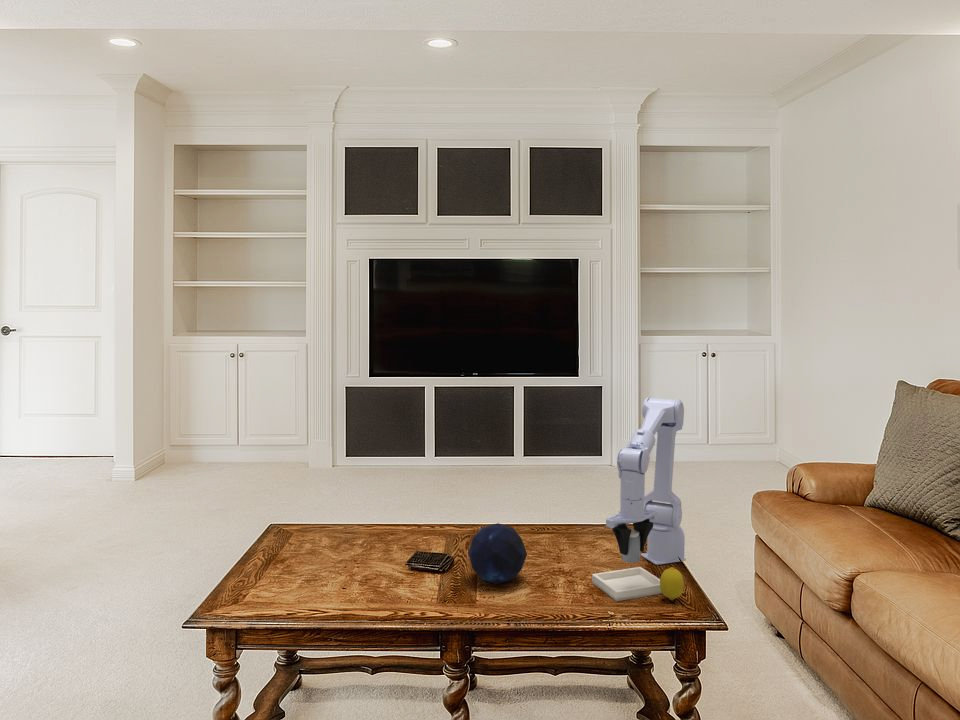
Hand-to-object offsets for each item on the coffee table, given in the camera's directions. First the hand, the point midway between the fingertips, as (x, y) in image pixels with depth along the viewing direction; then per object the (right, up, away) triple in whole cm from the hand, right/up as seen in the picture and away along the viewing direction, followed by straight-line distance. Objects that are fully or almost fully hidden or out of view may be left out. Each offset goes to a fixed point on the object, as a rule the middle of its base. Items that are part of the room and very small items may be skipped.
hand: (631, 551), depth 181 cm
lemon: (+8, -10, -6) cm, 14 cm away
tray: (0, -9, +2) cm, 9 cm away
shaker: (0, -2, 0) cm, 2 cm away
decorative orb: (-33, -9, +7) cm, 35 cm away
